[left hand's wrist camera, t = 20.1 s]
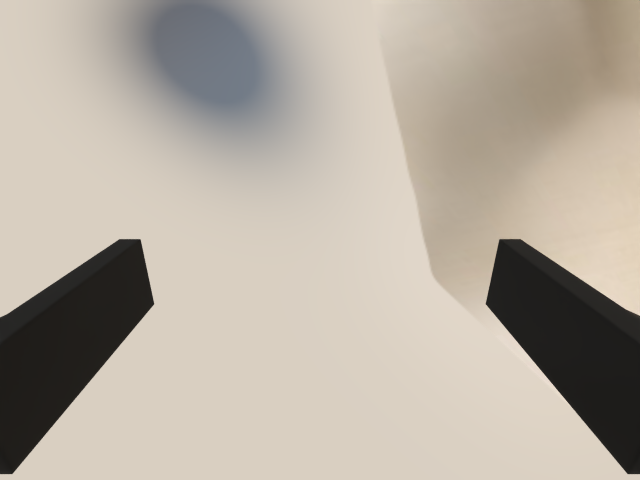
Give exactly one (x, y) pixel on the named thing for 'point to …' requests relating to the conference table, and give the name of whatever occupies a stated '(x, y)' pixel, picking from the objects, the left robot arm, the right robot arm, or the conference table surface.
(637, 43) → the conference table surface
